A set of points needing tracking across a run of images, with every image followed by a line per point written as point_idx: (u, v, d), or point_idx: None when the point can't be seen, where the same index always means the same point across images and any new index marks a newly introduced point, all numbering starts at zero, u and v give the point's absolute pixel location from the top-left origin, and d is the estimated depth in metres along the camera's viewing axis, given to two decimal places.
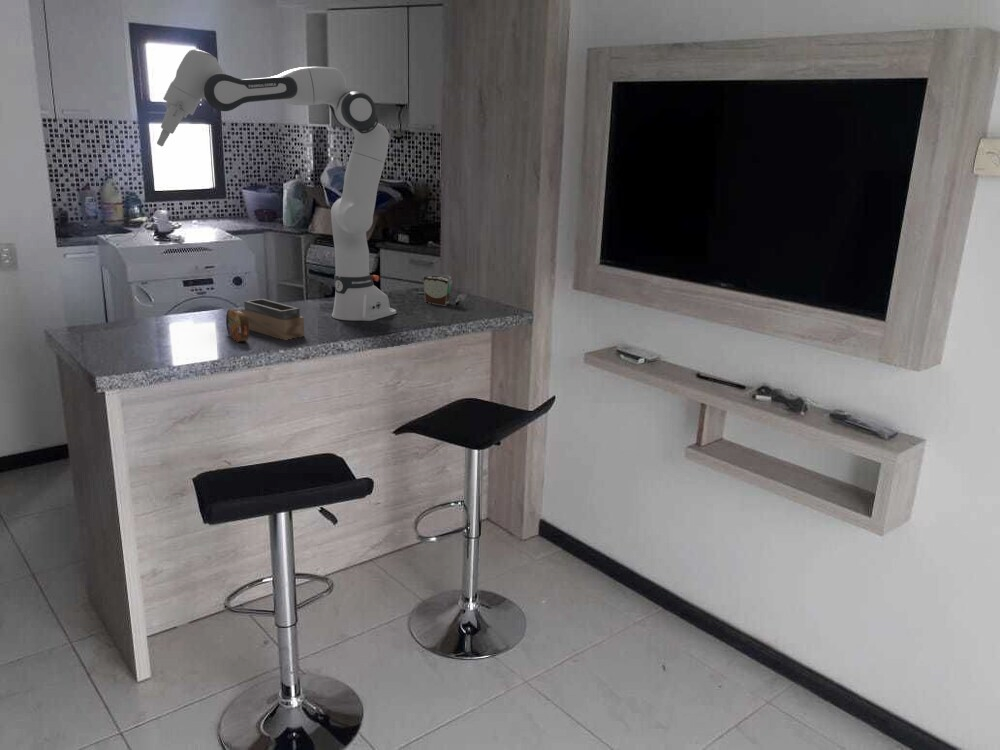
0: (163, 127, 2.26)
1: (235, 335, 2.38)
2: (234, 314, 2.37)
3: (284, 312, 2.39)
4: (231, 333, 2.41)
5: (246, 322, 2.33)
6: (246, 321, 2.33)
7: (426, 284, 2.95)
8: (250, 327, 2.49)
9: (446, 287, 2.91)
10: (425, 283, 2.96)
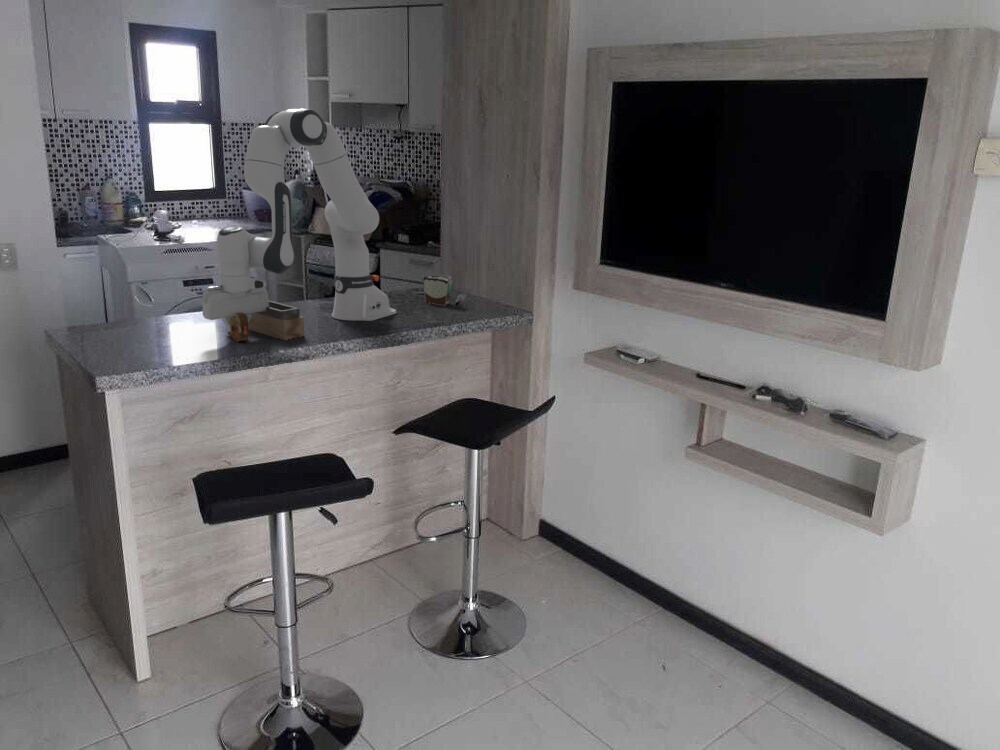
0: None
1: (235, 335, 2.38)
2: None
3: (284, 312, 2.39)
4: (231, 333, 2.41)
5: (246, 322, 2.33)
6: (246, 321, 2.33)
7: (426, 284, 2.95)
8: (250, 327, 2.49)
9: (446, 287, 2.91)
10: (425, 283, 2.96)
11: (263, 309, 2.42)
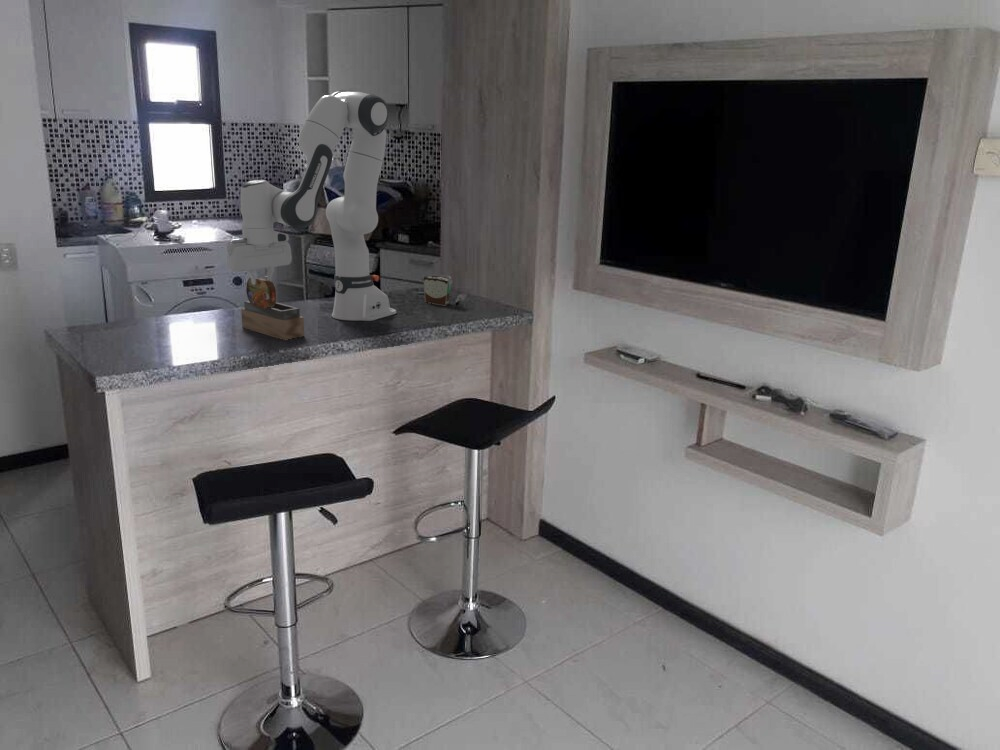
0: (229, 269, 2.34)
1: (260, 302, 2.42)
2: None
3: (284, 312, 2.39)
4: (254, 301, 2.45)
5: (273, 288, 2.37)
6: (273, 287, 2.37)
7: (426, 284, 2.95)
8: (250, 327, 2.49)
9: (446, 287, 2.91)
10: (425, 283, 2.96)
11: (286, 263, 2.45)
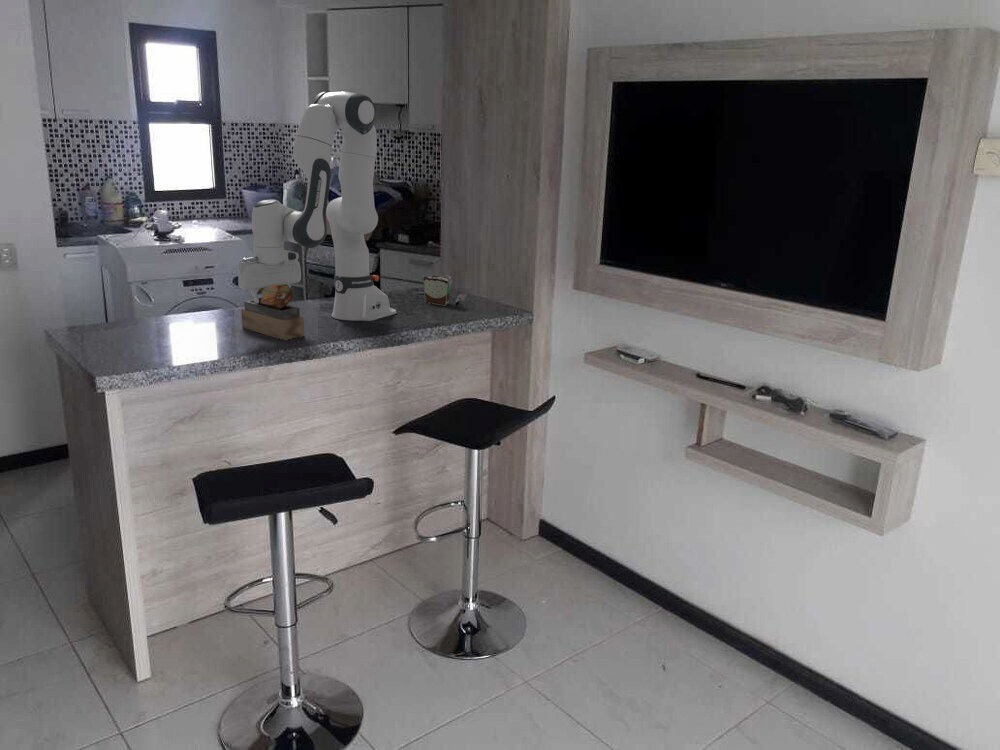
0: (240, 287, 2.37)
1: (268, 301, 2.44)
2: (278, 286, 2.47)
3: (284, 312, 2.39)
4: None
5: (292, 294, 2.43)
6: (292, 294, 2.43)
7: (426, 284, 2.95)
8: (250, 327, 2.49)
9: (446, 287, 2.91)
10: (425, 283, 2.96)
11: (295, 281, 2.49)
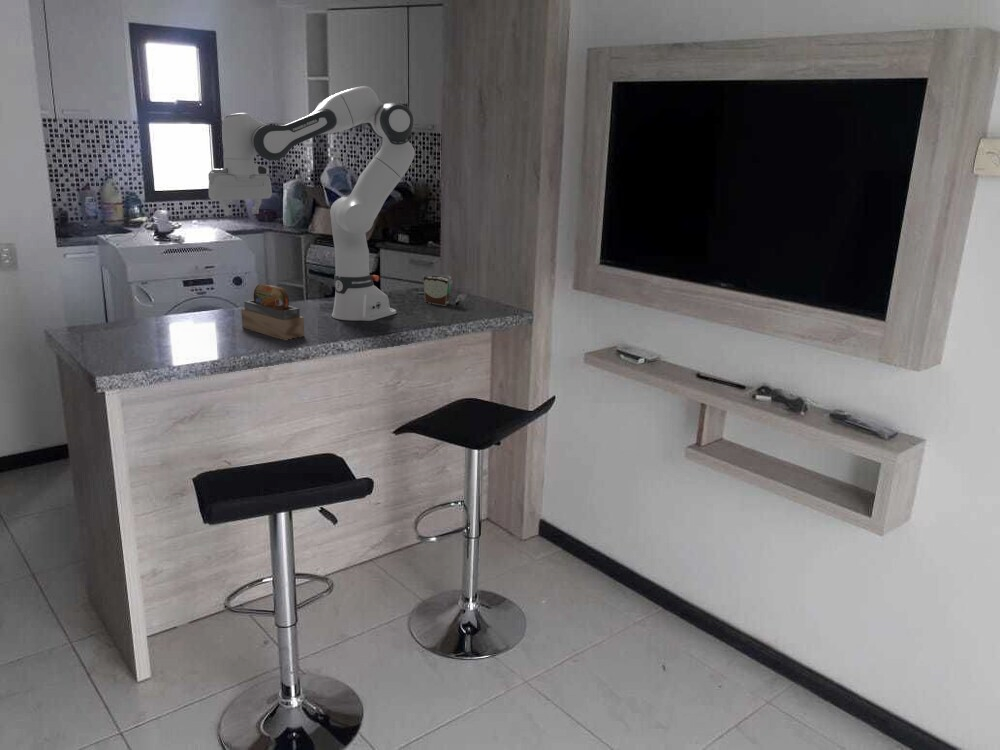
0: (210, 198, 2.41)
1: None
2: (268, 288, 2.44)
3: (284, 312, 2.39)
4: None
5: (286, 295, 2.41)
6: (286, 294, 2.41)
7: (426, 284, 2.95)
8: (250, 327, 2.49)
9: (446, 287, 2.91)
10: (425, 283, 2.96)
11: (266, 196, 2.53)
